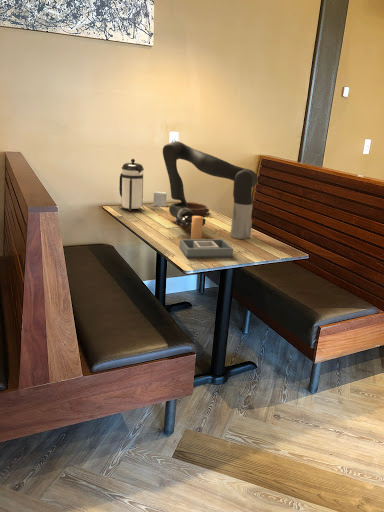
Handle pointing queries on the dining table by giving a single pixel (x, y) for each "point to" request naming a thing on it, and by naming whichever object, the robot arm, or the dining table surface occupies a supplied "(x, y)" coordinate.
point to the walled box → (205, 248)
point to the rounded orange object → (196, 227)
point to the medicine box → (160, 199)
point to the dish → (197, 208)
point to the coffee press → (131, 185)
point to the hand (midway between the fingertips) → (193, 224)
